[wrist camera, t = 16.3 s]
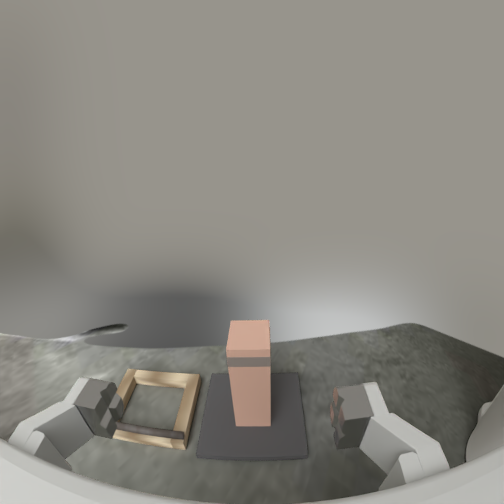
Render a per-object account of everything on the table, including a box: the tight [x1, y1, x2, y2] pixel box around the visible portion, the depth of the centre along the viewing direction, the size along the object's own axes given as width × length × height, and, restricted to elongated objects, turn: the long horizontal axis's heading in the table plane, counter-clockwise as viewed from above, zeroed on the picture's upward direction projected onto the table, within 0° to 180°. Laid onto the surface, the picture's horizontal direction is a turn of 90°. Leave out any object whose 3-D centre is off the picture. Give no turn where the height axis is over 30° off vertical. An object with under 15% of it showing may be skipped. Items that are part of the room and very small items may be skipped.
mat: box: [196, 372, 308, 460], centre depth 33 cm, size 12×14×1 cm
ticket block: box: [226, 320, 271, 426], centre depth 31 cm, size 4×5×12 cm
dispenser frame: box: [113, 369, 201, 450], centre depth 33 cm, size 11×12×2 cm
